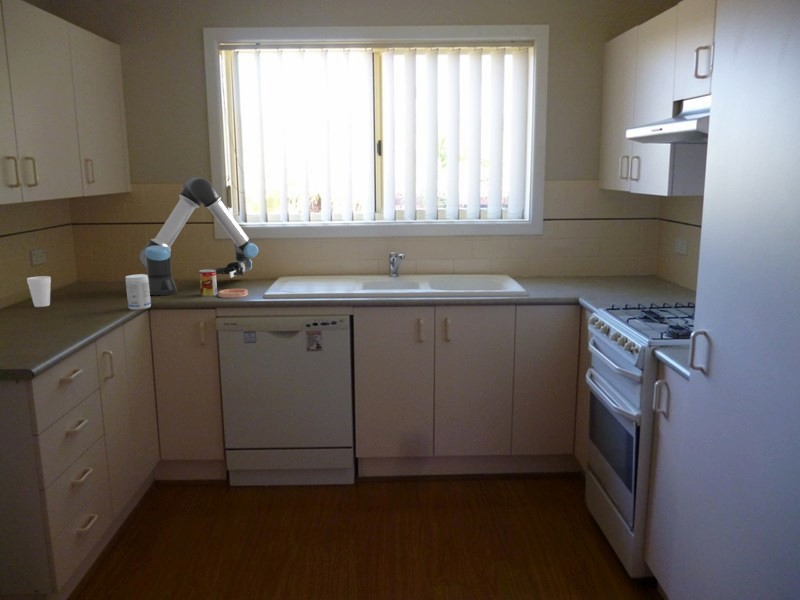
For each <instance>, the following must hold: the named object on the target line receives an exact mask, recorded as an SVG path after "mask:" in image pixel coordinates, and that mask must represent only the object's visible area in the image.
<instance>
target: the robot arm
mask: <svg viewBox="0 0 800 600" xmlns="http://www.w3.org/2000/svg"><path fill="white" fill-rule="evenodd" d="M221 199H222V197H221V195H220V194H219V192H218V191H217V189H216V187H214V185H213V184H212V182H211V181H209V180H208V179H206V178H204V177H191V178H188V179H187V180H186V181H185V182H184V184H183V187H182V190H181V191H180V193H179V201H178V202H177V203H176V205H175V207H174V208H173V210H172V211H171V213H170V215H169V216H168V218H167V219H166V220H165V223H164V224H163V225H162V227H161V228H160V230H159V231H158V233H157V235H156V236H155V238H151V239H150V240H149V241H148V243H147V245H146V246H144V247H143V248H142V249H141V251H140V253H139V260H140V263H141V264H142V265H143V266H144V268H146V272H147V273H146V275H148V281H149V290H150V295H156V297H157V295H160V296H168V295H169V296H170V295H173V293H174V294H177V293H178V287H177V285H176V283H175V281H174V279H173V271H172V270H173V269H172V257H171V253H172V250H171V247H172V245H173V244H174V243H175V241H176V239H177V238H178V235H179V234H180V233H181V231H182V229H183V228H184V226H185V225H186V223H187V222H188V220H189V218H190V217H191V215H192V214H193V212H194V210H195V209H198V208H199V209H200V208H201V207H200V206H201V205H202V206H203V207H204V208H205V209H208V210H209V211H210V212H211V214H212V215H213V216H214V218H215V219H216V221H217V222H218V223H219V224H220V225H221V227H222V228H223V230H224V231H225V232H226V233H227V235H228V236H229V237H230V238H231V240H232V241H233V246H234V256H235V257H234V258H235V260H234V261H232V262H229V263H228V264H226V266H223V267H220V266H219V267H216V268H215V267H214V268H210V269H211V270H216V275H220V274H221V275H228V276H229V278H230V279H232V278H234V277H236V276H237V277H238V276H240V275H241V276H244V274H245V273H247V272H249V271H251V270H252V269H253V266H252V263H253V261H252V260H251V258H252V259H253V258H255V257H257V255H258V253H259V247H258V246H257V245H256V244H255V243H253V242H252V240H251V239H250V238H249V236H248V235H247V234H246V232H245V231H244V230H243V228H242V227H241V225H240V224H239V223H238V221H237V220H236V219H235V217H234V216H233V215H232V214H231V212H230V211H229V210H228V208H227V207H226V205H225V203H224V202H223V201H222V200H221Z"/></svg>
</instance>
